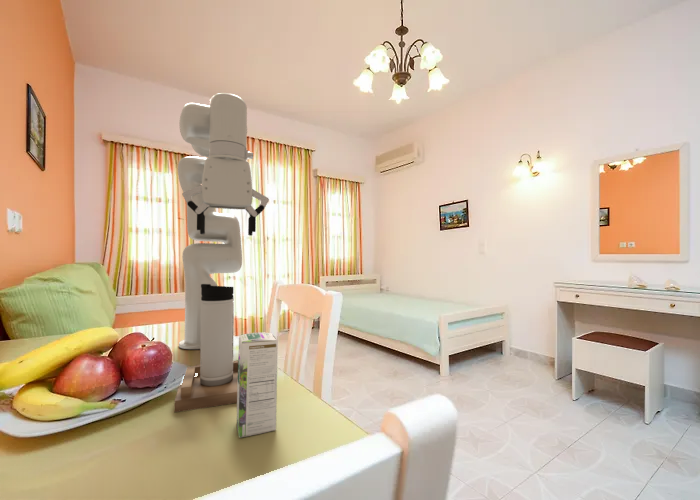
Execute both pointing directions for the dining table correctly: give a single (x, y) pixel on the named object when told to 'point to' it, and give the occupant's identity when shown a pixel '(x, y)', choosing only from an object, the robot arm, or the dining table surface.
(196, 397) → the stand
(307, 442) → the dining table surface
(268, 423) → the syrup box
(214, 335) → the travel mug
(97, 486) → the dining table surface
